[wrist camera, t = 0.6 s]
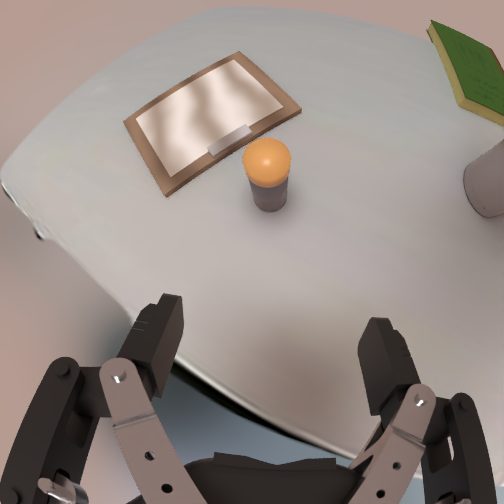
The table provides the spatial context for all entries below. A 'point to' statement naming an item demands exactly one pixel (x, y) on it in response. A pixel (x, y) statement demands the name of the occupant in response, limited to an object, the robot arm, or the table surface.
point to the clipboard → (207, 119)
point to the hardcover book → (471, 72)
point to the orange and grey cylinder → (268, 172)
